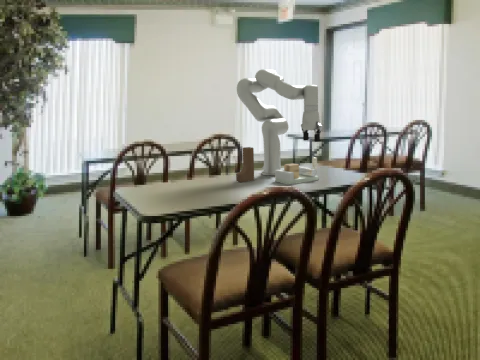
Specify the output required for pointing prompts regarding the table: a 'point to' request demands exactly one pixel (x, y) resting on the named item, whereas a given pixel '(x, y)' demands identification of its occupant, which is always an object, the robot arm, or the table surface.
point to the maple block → (292, 169)
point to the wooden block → (247, 166)
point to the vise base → (299, 180)
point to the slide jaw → (309, 169)
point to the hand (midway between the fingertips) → (311, 140)
